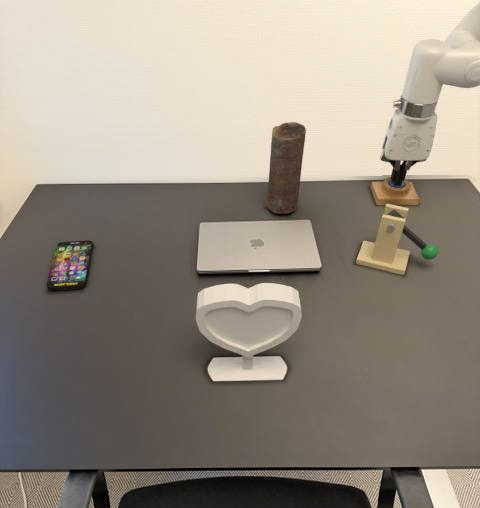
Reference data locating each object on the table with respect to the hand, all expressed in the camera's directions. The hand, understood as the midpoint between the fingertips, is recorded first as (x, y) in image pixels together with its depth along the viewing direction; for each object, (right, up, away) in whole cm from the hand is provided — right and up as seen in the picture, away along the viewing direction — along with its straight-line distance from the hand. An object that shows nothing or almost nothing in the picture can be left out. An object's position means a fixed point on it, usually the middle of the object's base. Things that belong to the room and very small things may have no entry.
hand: (396, 182), depth 114 cm
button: (0, -1, +1) cm, 2 cm away
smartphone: (-73, -22, -16) cm, 78 cm away
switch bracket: (-8, -21, -14) cm, 26 cm away
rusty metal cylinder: (-28, -7, -1) cm, 29 cm away
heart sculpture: (-37, -42, -34) cm, 66 cm away
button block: (0, -3, +3) cm, 4 cm away
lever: (-5, -18, -20) cm, 27 cm away
